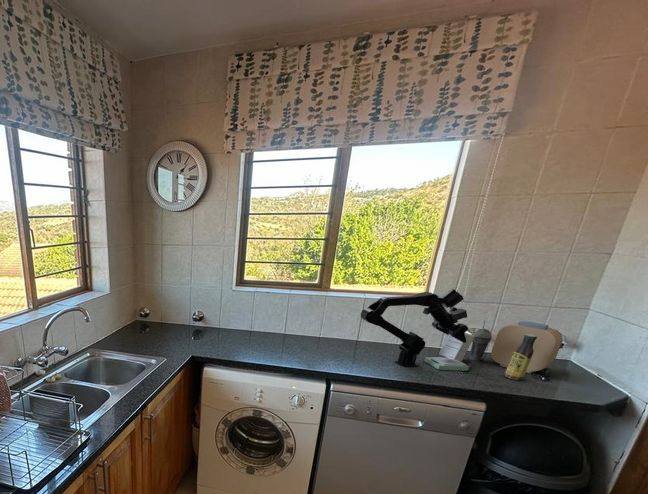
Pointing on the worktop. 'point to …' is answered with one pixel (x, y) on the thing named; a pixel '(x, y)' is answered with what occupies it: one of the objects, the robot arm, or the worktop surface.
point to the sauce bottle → (521, 358)
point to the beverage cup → (480, 343)
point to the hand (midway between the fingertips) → (459, 339)
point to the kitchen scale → (446, 364)
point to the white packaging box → (456, 347)
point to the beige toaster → (543, 345)
